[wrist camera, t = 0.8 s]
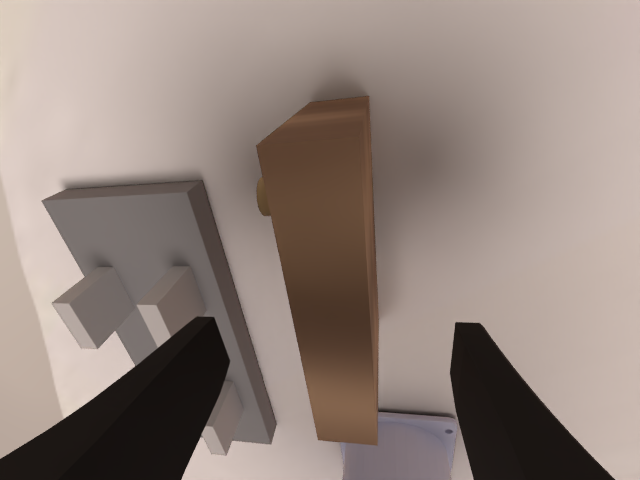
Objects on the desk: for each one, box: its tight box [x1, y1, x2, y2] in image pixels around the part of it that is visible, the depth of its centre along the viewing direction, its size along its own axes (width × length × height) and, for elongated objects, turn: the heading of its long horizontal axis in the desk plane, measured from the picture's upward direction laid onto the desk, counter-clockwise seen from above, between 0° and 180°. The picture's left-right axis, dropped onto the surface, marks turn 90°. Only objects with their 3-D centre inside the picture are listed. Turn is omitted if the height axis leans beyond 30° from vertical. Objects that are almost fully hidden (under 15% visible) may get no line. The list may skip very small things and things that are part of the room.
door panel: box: [256, 96, 379, 446], centre depth 13 cm, size 12×3×7 cm, turn 7°
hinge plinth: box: [42, 181, 276, 456], centre depth 20 cm, size 20×8×4 cm, turn 7°
